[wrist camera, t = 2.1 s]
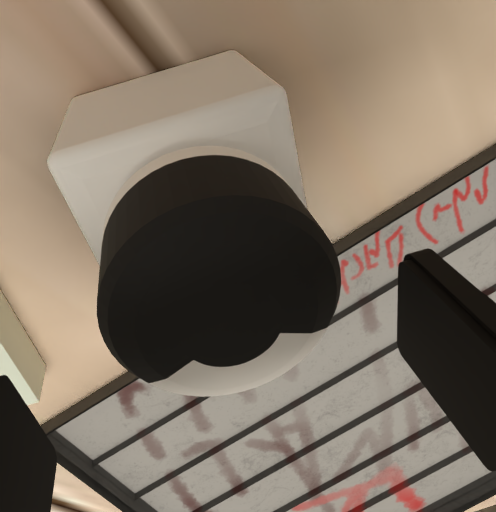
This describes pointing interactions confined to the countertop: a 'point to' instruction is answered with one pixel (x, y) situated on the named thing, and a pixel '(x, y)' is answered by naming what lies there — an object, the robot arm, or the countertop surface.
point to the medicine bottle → (198, 226)
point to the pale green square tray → (19, 356)
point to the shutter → (310, 397)
